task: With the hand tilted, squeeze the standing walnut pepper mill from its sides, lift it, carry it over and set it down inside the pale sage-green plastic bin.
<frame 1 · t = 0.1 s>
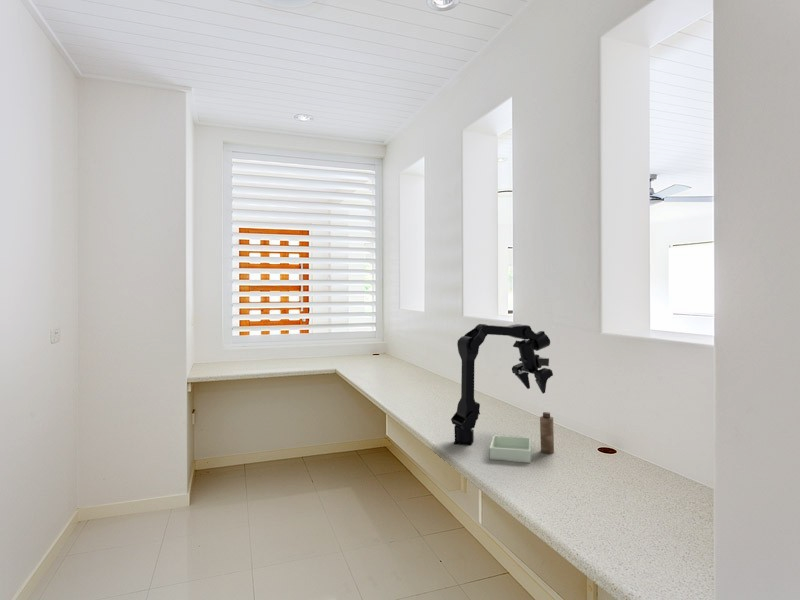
hand: (536, 390, 185), 15 cm above the worktop, tool pointing down, fingers open, 9 cm apart
bin: (511, 454, 158), on the worktop
mill: (547, 451, 159), on the worktop
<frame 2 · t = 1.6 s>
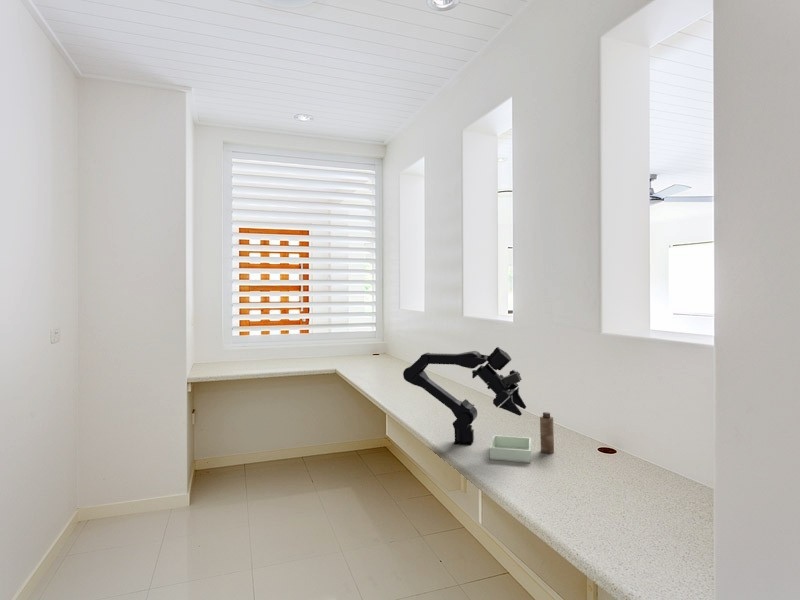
hand: (523, 411, 162), 13 cm above the worktop, tool tilted 45°, fingers open, 9 cm apart
nothing on the worktop moved.
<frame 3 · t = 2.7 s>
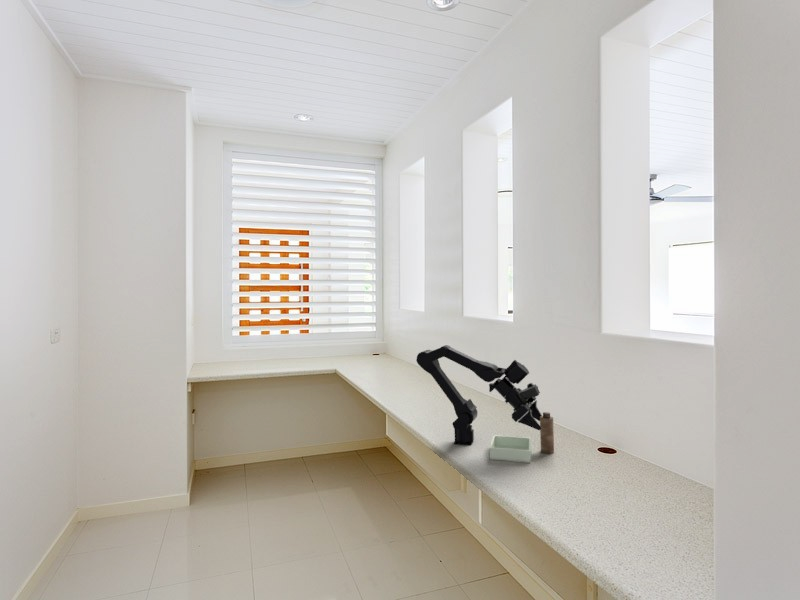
hand: (542, 425, 160), 9 cm above the worktop, tool tilted 45°, fingers open, 9 cm apart
nothing on the worktop moved.
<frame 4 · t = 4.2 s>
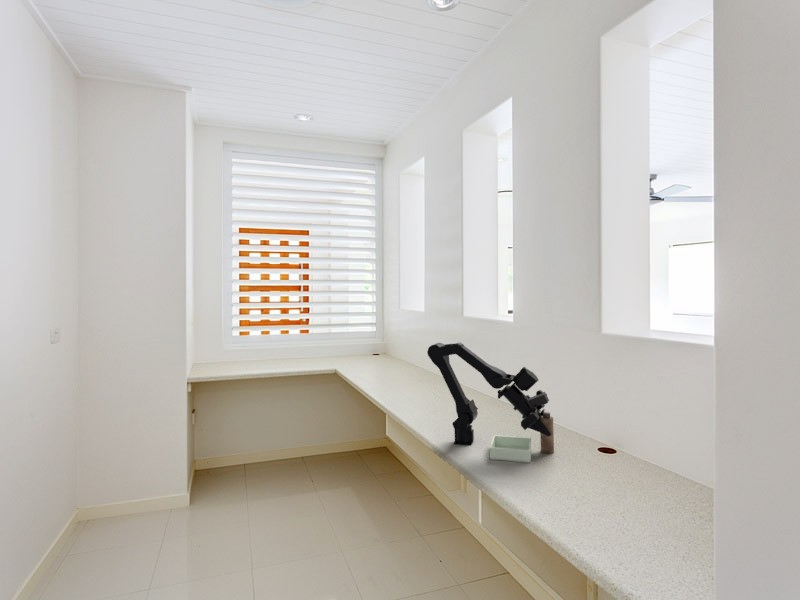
hand: (551, 433, 159), 7 cm above the worktop, tool tilted 45°, fingers closed on mill, 4 cm apart
mill: (547, 451, 159), on the worktop, touching gripper
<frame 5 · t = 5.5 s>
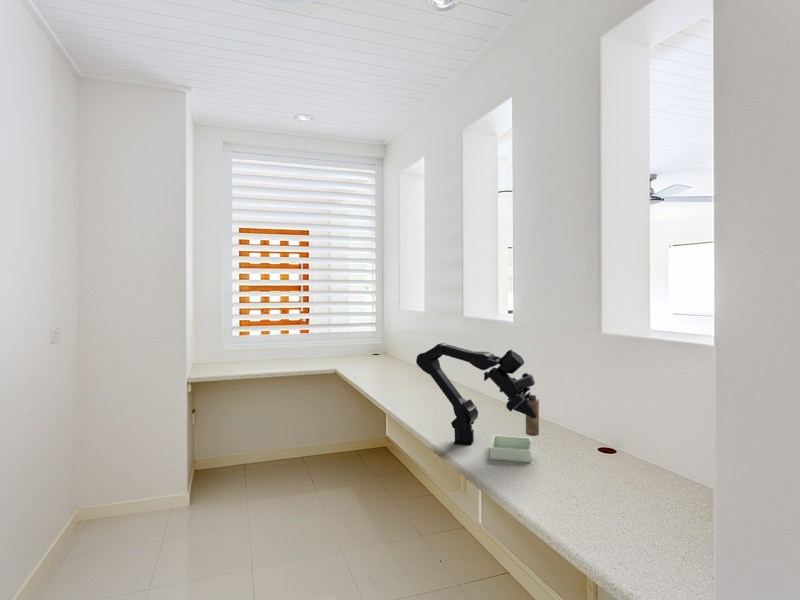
hand: (536, 415, 158), 13 cm above the worktop, tool tilted 45°, fingers closed on mill, 4 cm apart
mill: (532, 433, 159), point 6 cm above the worktop, touching gripper
when the fingers open (9 cm above the worktop, at t = 7.2 s): mill drops 2 cm, resting on bin.
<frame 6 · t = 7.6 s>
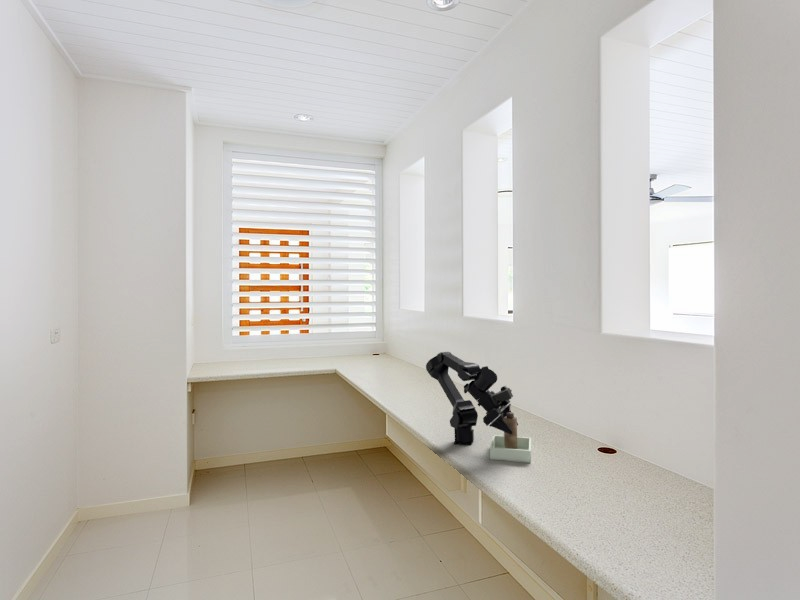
hand: (514, 429, 157), 9 cm above the worktop, tool tilted 45°, fingers open, 9 cm apart
mill: (511, 452, 158), point 1 cm above the worktop, touching bin
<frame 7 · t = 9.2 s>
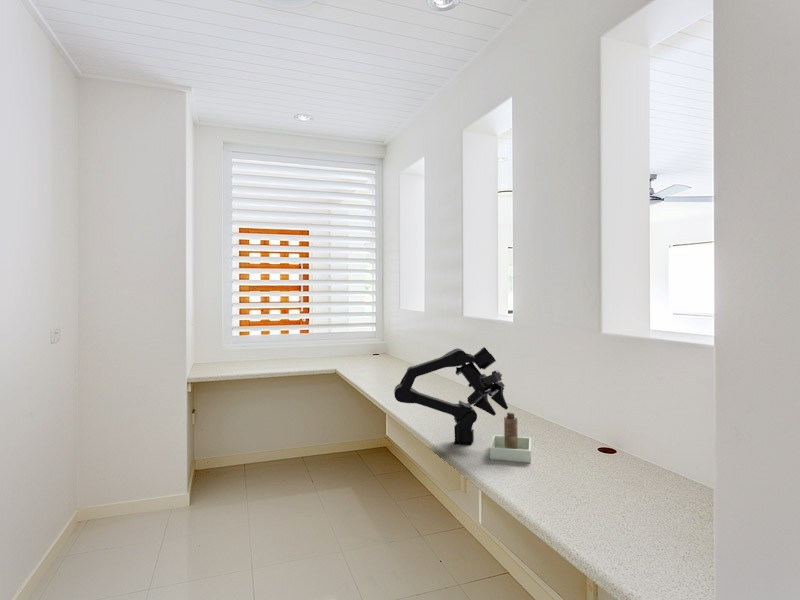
hand: (501, 411, 164), 13 cm above the worktop, tool tilted 45°, fingers open, 9 cm apart
nothing on the worktop moved.
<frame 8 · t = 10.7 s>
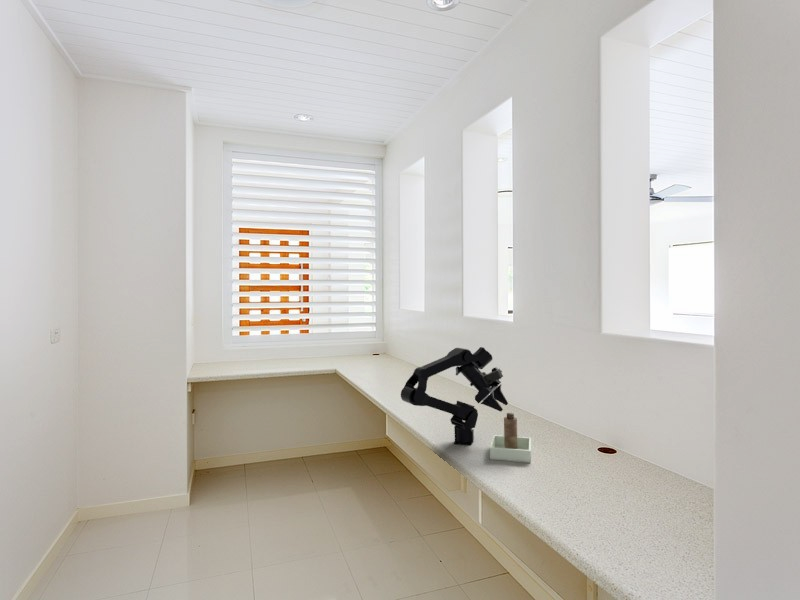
hand: (504, 407, 168), 14 cm above the worktop, tool tilted 45°, fingers open, 9 cm apart
nothing on the worktop moved.
at the end: mill inside the target area on the bin (0.1 cm from its centre), point 0.5 cm above the bin's base; mill tilted 1°; the gripper is holding nothing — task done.
